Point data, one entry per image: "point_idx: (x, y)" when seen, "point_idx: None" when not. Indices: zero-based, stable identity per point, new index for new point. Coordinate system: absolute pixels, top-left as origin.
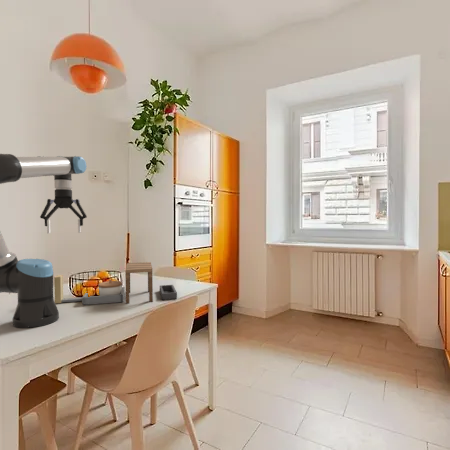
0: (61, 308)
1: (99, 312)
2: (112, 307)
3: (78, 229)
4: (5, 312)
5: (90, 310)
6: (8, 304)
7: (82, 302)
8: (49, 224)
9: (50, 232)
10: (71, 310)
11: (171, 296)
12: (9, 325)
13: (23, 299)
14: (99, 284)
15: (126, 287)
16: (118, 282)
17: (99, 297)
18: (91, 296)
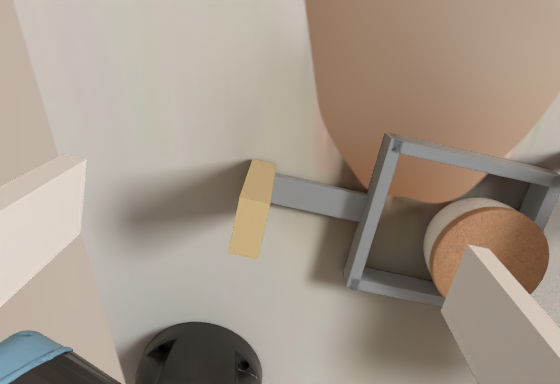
0: (269, 274)
1: (383, 375)
2: (435, 343)
3: (459, 341)
4: (84, 233)
5: (360, 343)
6: (60, 112)
7: (344, 277)
8: (7, 263)
9: (82, 166)
10: (301, 314)
11: None
12: (134, 375)
13: None
14: (435, 269)
15: None
16: (529, 274)
17: (410, 298)
18: (382, 286)
